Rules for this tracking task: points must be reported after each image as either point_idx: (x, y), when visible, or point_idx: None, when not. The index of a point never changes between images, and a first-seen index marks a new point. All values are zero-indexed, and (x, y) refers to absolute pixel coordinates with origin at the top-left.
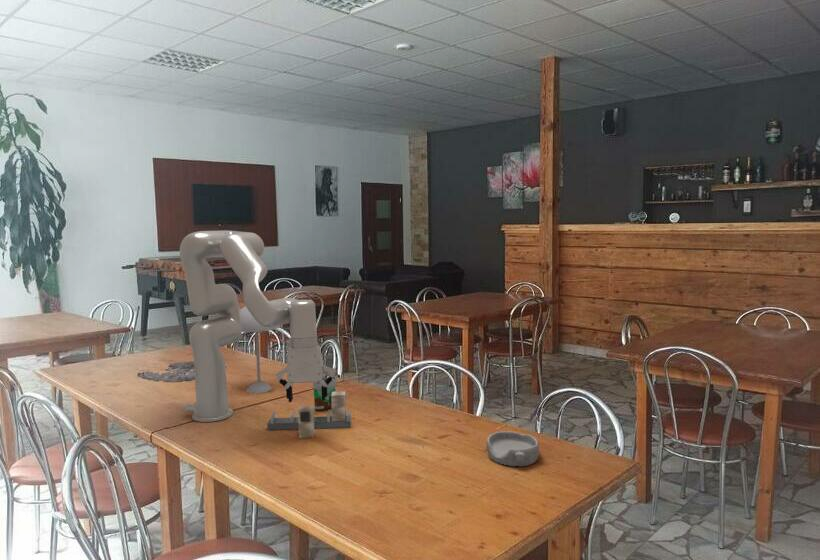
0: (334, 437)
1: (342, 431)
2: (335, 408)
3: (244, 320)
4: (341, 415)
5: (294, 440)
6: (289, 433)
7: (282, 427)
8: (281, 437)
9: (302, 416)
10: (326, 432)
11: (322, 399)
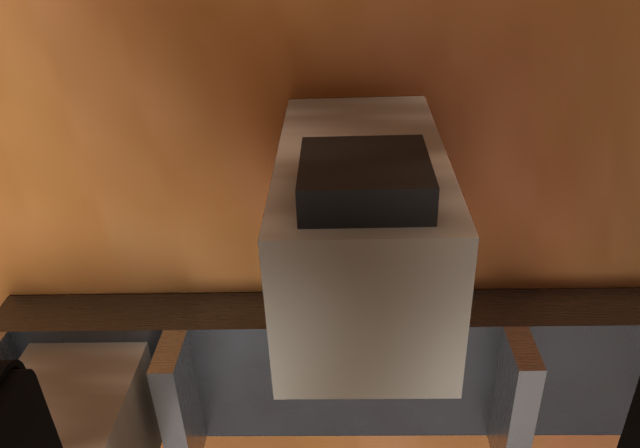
0: (71, 79)
1: (46, 220)
2: (68, 438)
3: None
4: (40, 380)
5: (464, 17)
6: (523, 202)
7: (594, 299)
8: (600, 108)
9: (398, 164)
10: (184, 206)
11: (10, 371)
